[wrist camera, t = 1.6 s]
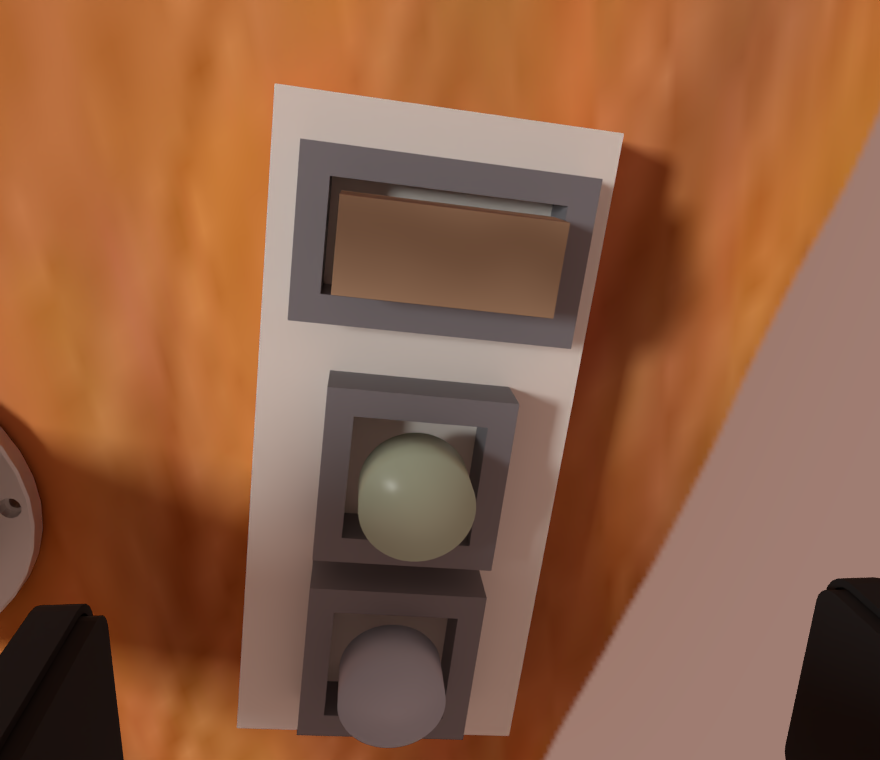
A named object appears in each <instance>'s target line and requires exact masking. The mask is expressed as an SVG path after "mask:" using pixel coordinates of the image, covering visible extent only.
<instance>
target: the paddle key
mask: <svg viewBox="0 0 880 760" xmlns="http://www.w3.org/2000/svg"><path fill="white" fill-rule="evenodd" d="M569 227H570V223H569V222H566V221H564V220H561V219H558V218H556V217H551V216H543V215H535V214H527V213H519V212H511V211H503V210H495V209H487V208H479V207H471V206H463V205H455V204H447V203H440V202H432V201H424V200H416V199H408V198H400V197H392V196H384V195H376V194H368V193H360V192H352V191H344V190H341V192H340V194H339V205H338V217H337V229H336V240H335V252H334V263H333V275H332V287H331V295H337V296H347V297H356V298H365V299H375V300H384V301H393V302H403V303H412V304H421V305H431V306H440V307H449V308H459V309H468V310H477V311H487V312H496V313H505V314H515V315H524V316H533V317H543V318H552V319H553V317H554V312H555V306H556V300H557V295H558V289H559V283H560V278H561V272H562V266H563V261H564V255H565V249H566V244H567V238H568V232H569Z"/></svg>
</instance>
